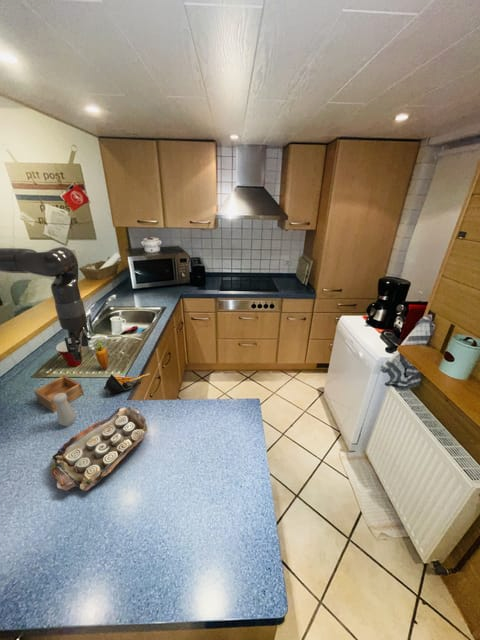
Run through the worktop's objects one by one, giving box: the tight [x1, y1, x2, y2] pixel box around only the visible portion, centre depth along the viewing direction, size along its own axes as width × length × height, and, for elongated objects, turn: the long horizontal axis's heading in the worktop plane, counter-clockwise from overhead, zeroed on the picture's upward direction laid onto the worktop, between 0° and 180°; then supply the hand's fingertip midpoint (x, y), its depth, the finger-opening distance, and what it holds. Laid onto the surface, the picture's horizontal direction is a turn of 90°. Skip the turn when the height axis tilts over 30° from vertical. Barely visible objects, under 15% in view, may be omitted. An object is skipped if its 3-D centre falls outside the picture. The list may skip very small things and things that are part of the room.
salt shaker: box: [52, 393, 77, 427], centre depth 92 cm, size 6×6×13 cm
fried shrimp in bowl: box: [104, 372, 151, 395], centre depth 111 cm, size 9×11×18 cm
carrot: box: [93, 341, 109, 370], centre depth 121 cm, size 5×5×15 cm
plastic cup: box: [55, 340, 83, 368], centre depth 125 cm, size 11×11×12 cm
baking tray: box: [49, 406, 149, 492], centre depth 83 cm, size 30×22×5 cm
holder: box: [33, 375, 85, 413], centre depth 105 cm, size 12×12×6 cm
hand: (82, 352), depth 88 cm, fingers open, 8 cm apart
